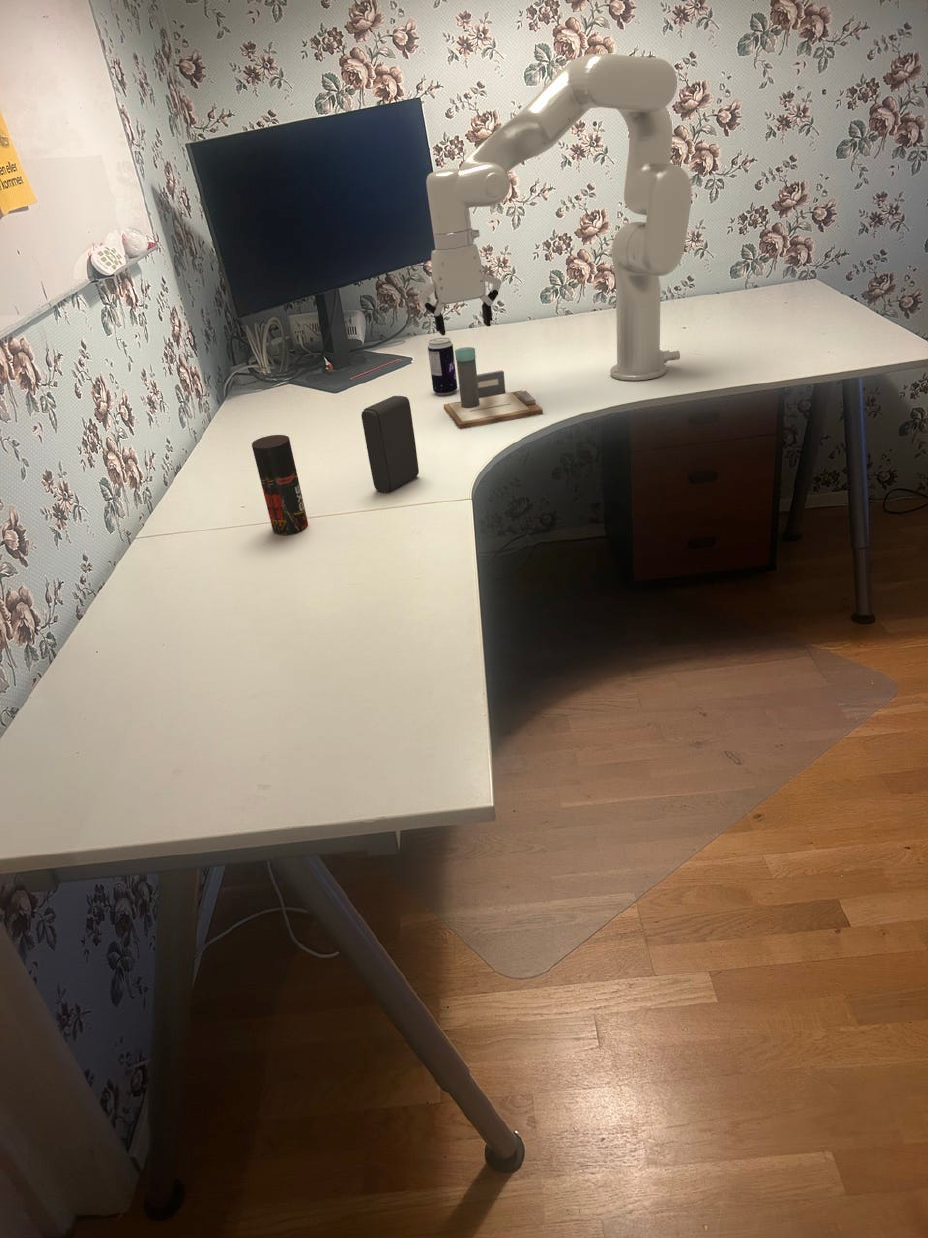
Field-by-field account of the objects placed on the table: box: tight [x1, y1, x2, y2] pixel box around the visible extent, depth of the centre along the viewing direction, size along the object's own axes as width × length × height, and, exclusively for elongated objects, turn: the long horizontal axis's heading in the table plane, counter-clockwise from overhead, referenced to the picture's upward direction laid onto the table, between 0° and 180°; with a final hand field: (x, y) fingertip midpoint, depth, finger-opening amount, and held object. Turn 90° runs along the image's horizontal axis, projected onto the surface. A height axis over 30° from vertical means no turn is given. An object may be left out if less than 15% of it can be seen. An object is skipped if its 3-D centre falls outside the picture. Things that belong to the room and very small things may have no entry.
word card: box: [477, 370, 506, 398], centre depth 190 cm, size 10×1×5 cm, turn 103°
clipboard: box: [442, 390, 544, 430], centre depth 182 cm, size 18×15×2 cm
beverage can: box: [427, 337, 458, 397], centre depth 194 cm, size 6×6×12 cm
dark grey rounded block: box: [361, 395, 420, 493], centre depth 149 cm, size 9×4×15 cm, turn 141°
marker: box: [454, 346, 480, 408], centre depth 180 cm, size 4×4×12 cm
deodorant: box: [251, 434, 309, 536], centre depth 138 cm, size 6×6×15 cm
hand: (465, 329), depth 175 cm, fingers open, 9 cm apart
